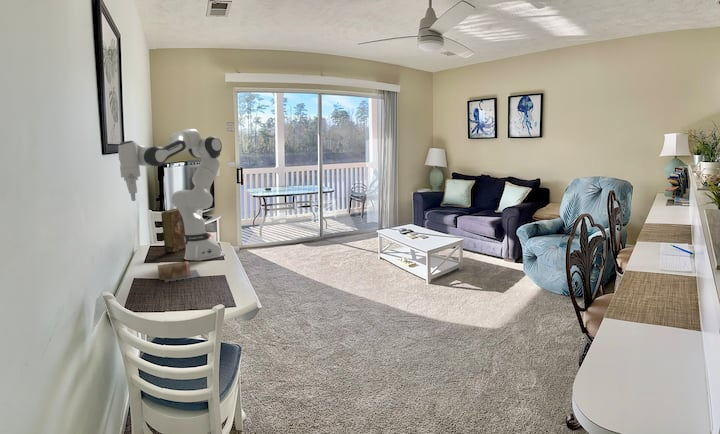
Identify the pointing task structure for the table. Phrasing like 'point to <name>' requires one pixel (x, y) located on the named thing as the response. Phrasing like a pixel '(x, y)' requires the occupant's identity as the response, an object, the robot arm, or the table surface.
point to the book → (173, 230)
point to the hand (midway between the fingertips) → (133, 200)
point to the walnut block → (173, 270)
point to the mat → (192, 275)
